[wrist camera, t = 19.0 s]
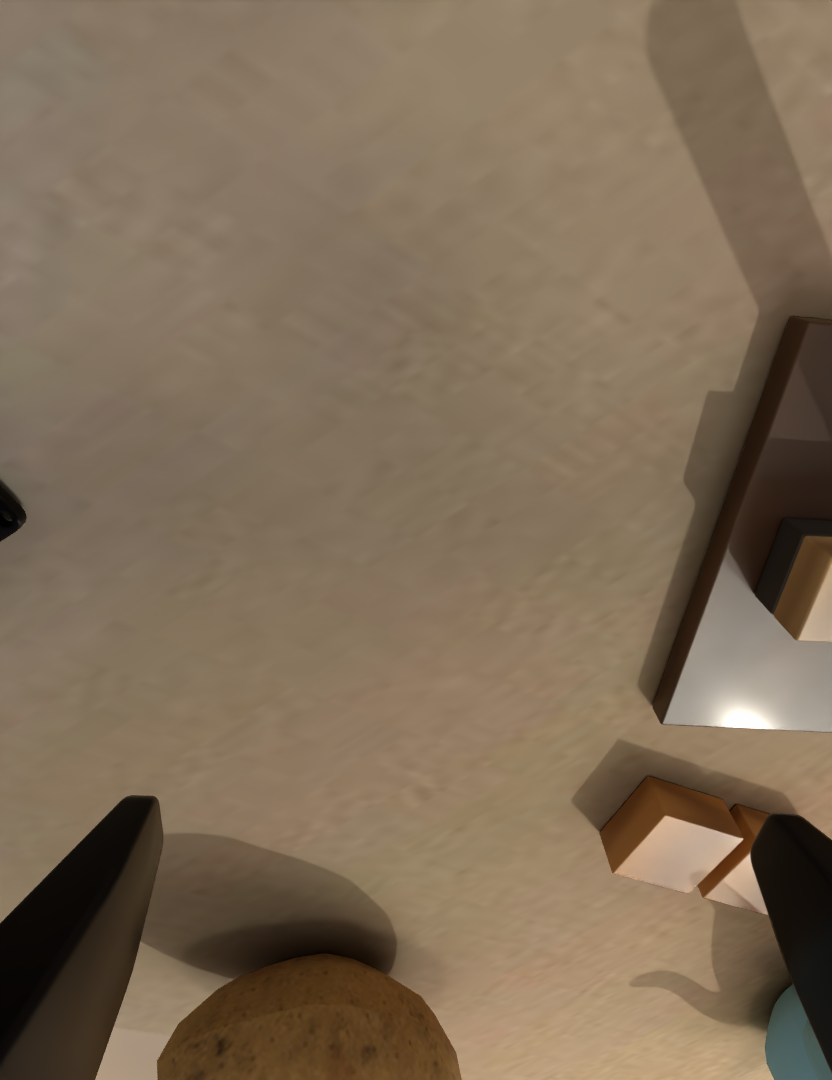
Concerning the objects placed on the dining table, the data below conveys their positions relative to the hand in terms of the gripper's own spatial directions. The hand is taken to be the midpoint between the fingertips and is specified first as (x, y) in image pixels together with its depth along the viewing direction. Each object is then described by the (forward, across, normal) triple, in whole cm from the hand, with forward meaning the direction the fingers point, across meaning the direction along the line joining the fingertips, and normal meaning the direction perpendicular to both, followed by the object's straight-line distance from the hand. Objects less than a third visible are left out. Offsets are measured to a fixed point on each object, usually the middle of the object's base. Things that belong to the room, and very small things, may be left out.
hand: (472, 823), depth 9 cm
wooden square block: (+12, -17, +17) cm, 27 cm away
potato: (+13, +2, +28) cm, 31 cm away
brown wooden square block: (+13, -12, +15) cm, 23 cm away
